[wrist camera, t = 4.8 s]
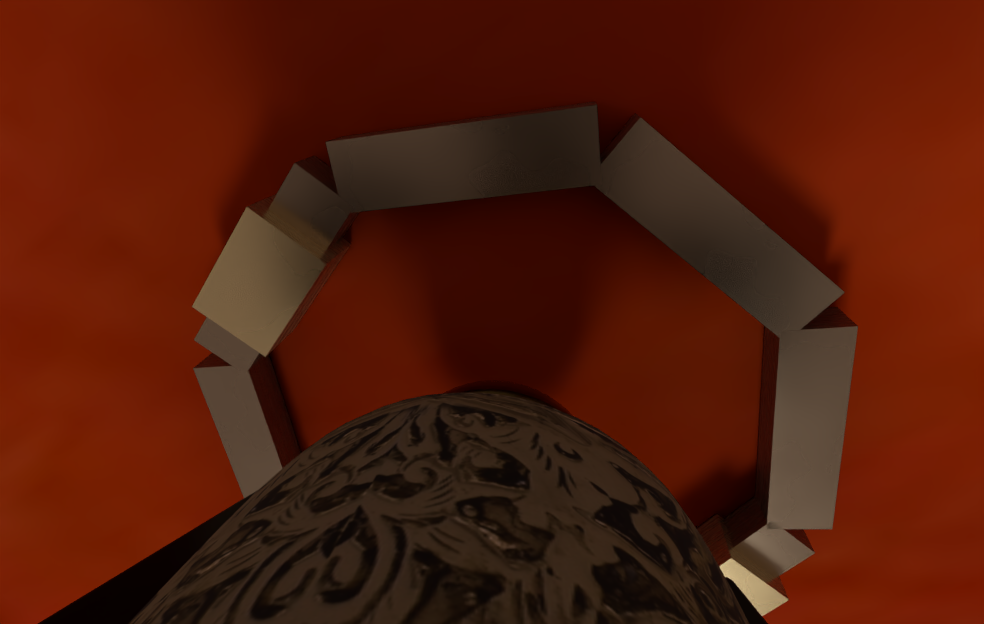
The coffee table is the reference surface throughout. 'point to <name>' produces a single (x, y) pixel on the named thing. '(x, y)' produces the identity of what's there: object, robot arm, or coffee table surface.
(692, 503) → the coffee table surface
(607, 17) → the coffee table surface
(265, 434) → the ring
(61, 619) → the robot arm
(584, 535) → the cup
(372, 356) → the coffee table surface
